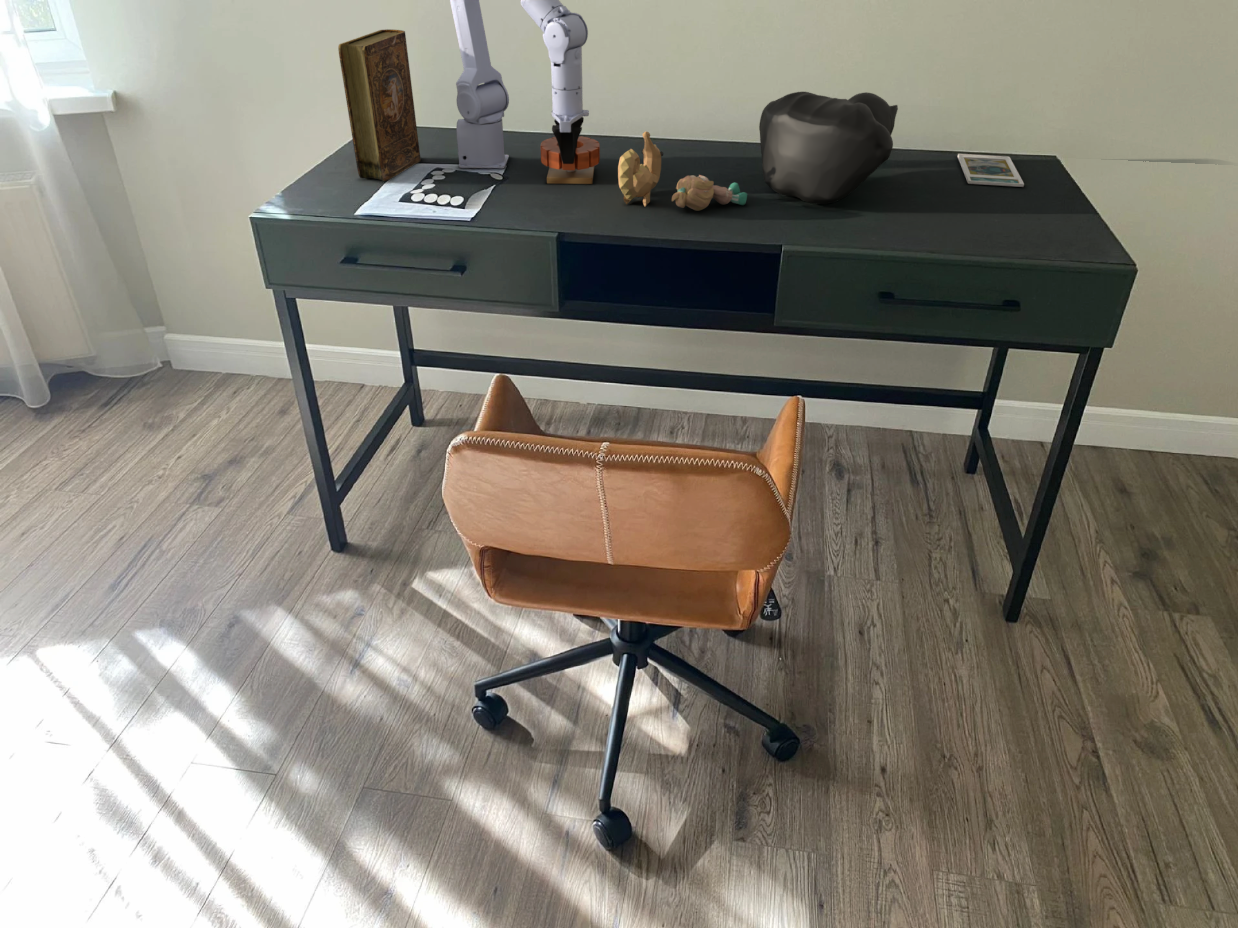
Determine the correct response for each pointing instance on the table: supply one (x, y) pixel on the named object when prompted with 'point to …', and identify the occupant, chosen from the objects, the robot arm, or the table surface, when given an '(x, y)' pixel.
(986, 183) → the trading card
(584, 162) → the ring
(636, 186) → the toy
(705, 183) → the toy
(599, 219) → the table surface
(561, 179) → the rack
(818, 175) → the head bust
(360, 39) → the book
